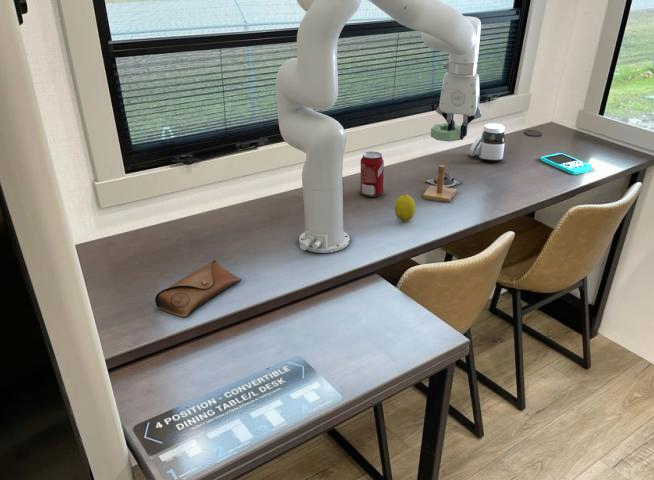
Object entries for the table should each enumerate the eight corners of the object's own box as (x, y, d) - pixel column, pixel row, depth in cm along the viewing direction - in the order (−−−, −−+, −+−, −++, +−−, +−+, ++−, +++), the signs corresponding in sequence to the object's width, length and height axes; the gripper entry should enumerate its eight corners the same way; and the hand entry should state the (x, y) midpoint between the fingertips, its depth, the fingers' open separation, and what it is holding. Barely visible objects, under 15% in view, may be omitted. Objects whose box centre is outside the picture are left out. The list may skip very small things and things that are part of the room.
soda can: (373, 200, 175) (374, 160, 168) (355, 194, 178) (355, 154, 172) (387, 193, 180) (388, 154, 173) (370, 187, 183) (370, 149, 176)
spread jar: (503, 165, 202) (508, 131, 196) (470, 164, 202) (473, 130, 196) (498, 153, 212) (502, 120, 206) (466, 152, 212) (469, 119, 206)
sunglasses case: (186, 317, 121) (169, 288, 119) (167, 323, 125) (150, 296, 124) (244, 278, 135) (229, 252, 133) (224, 285, 139) (210, 259, 137)
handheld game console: (572, 175, 196) (573, 171, 195) (539, 160, 208) (539, 156, 207) (594, 170, 200) (595, 166, 200) (560, 155, 212) (561, 152, 211)
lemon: (418, 222, 163) (420, 194, 159) (405, 228, 160) (406, 200, 155) (403, 215, 166) (404, 188, 162) (389, 221, 163) (390, 194, 158)
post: (449, 202, 175) (451, 172, 170) (422, 198, 177) (424, 168, 172) (455, 192, 181) (458, 163, 176) (430, 188, 183) (432, 159, 178)
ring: (457, 142, 164) (458, 134, 163) (428, 139, 167) (428, 130, 165) (464, 134, 171) (465, 125, 170) (436, 130, 173) (436, 122, 172)
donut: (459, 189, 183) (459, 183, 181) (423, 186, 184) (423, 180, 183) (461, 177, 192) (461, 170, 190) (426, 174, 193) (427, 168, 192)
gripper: (429, 68, 157) (425, 138, 167) (490, 74, 153) (482, 145, 163) (436, 63, 163) (432, 130, 173) (495, 68, 159) (487, 137, 169)
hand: (456, 137), depth 168 cm, fingers closed on ring, 2 cm apart
